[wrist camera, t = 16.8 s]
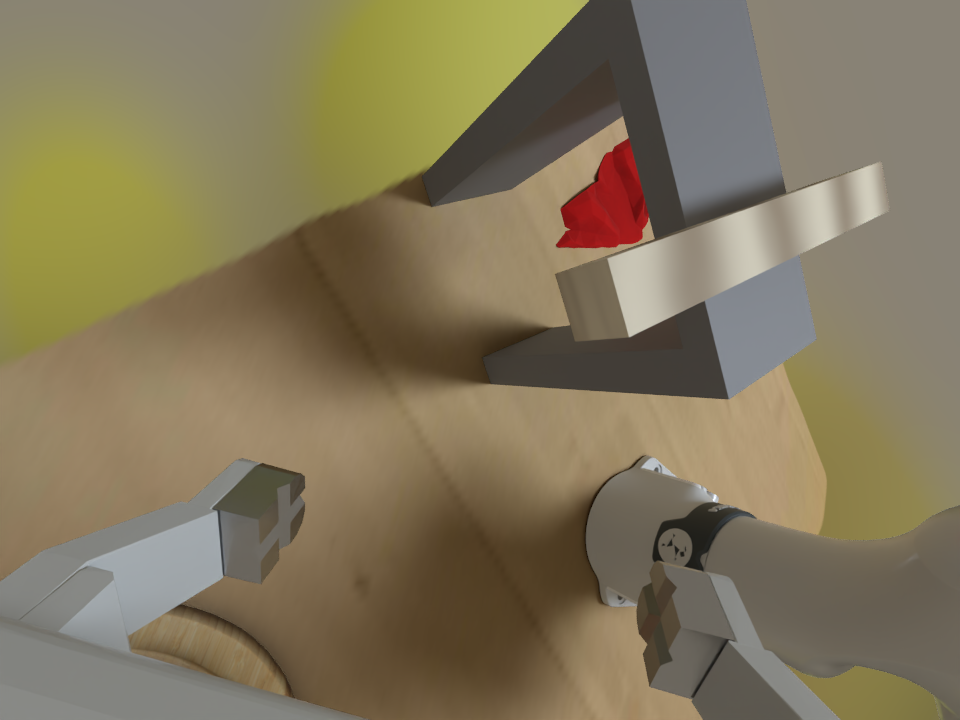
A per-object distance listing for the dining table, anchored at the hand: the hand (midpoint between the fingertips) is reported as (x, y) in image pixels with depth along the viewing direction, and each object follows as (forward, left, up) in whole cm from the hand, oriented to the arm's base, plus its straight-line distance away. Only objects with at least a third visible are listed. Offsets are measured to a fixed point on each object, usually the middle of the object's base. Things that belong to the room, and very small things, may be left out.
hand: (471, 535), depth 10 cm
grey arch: (-12, -21, -32) cm, 40 cm away
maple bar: (-13, -17, -6) cm, 22 cm away
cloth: (-23, -39, -33) cm, 56 cm away
